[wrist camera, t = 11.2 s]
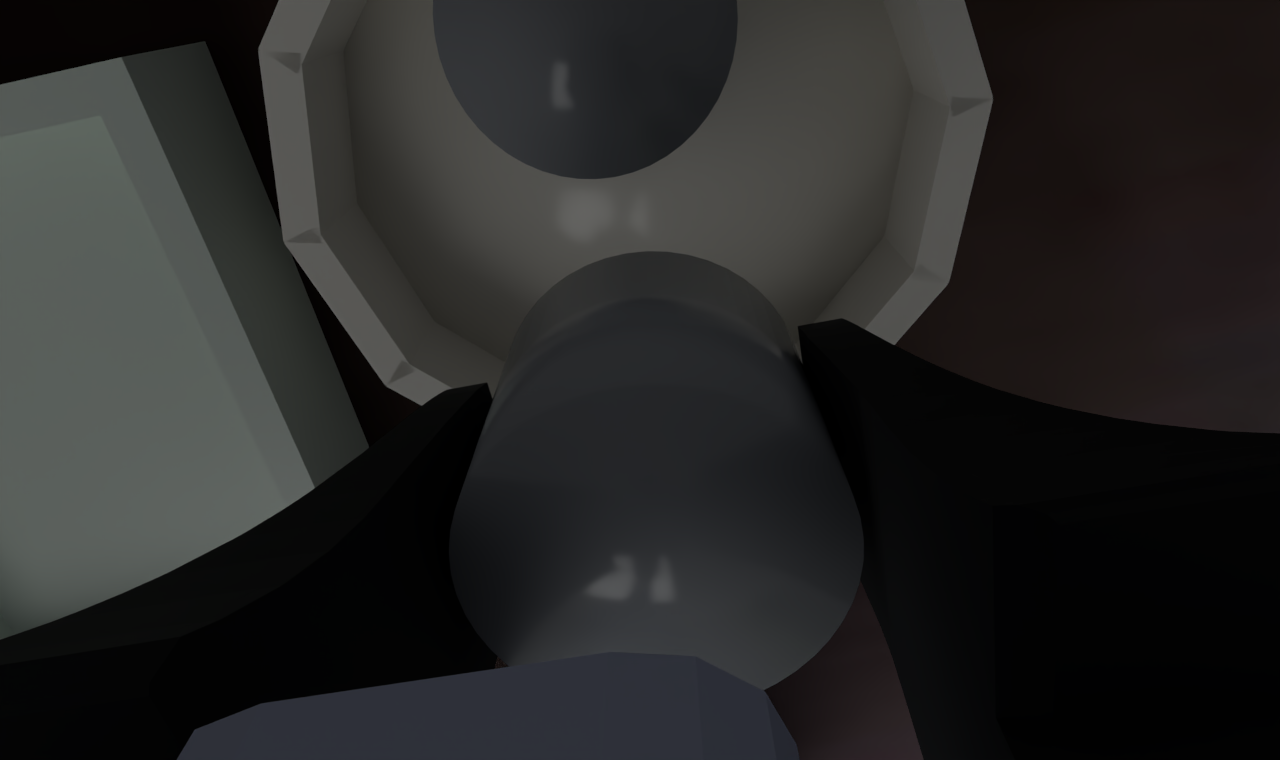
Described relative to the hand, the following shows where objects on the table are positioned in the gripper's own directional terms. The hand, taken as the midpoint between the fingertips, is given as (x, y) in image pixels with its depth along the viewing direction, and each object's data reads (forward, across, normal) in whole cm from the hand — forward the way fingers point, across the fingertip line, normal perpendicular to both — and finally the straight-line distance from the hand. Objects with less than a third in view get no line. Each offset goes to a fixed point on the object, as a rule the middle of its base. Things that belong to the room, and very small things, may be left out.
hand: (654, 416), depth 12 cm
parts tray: (+8, +14, +1) cm, 16 cm away
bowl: (+8, 0, -2) cm, 8 cm away
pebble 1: (+7, 0, -5) cm, 8 cm away
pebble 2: (+1, 0, 0) cm, 1 cm away
